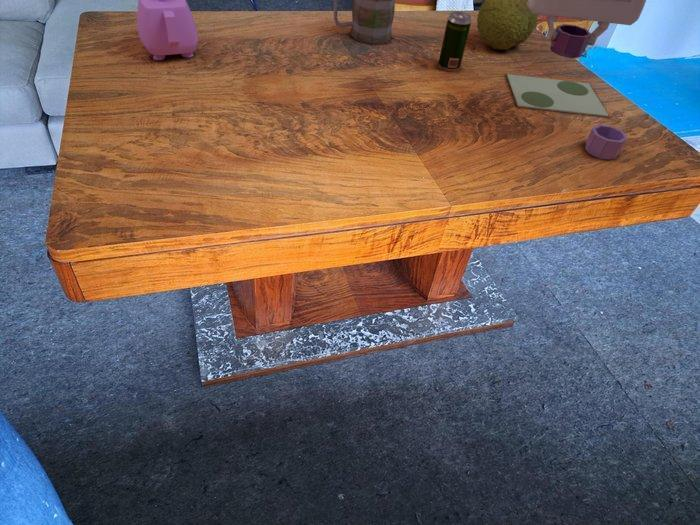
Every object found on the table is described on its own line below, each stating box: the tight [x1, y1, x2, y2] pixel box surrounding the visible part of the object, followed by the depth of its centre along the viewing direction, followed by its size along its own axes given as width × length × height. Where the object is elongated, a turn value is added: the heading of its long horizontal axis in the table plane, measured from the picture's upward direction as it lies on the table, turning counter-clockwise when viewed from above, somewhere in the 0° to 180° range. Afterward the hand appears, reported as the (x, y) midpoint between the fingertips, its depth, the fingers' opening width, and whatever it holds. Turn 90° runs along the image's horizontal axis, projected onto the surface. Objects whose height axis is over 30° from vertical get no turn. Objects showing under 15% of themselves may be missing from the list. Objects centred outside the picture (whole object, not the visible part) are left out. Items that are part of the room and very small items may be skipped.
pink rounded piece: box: [136, 0, 199, 61], centre depth 112 cm, size 20×12×13 cm, turn 24°
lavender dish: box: [584, 124, 628, 161], centre depth 99 cm, size 6×6×4 cm
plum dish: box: [549, 23, 592, 59], centre depth 98 cm, size 6×6×4 cm
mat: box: [506, 73, 610, 118], centre depth 117 cm, size 20×16×1 cm
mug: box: [333, 0, 396, 45], centre depth 129 cm, size 16×11×12 cm
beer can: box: [438, 10, 472, 73], centre depth 119 cm, size 5×5×12 cm
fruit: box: [476, 0, 539, 51], centre depth 131 cm, size 16×14×15 cm
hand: (569, 42), depth 98 cm, fingers closed on plum dish, 6 cm apart
